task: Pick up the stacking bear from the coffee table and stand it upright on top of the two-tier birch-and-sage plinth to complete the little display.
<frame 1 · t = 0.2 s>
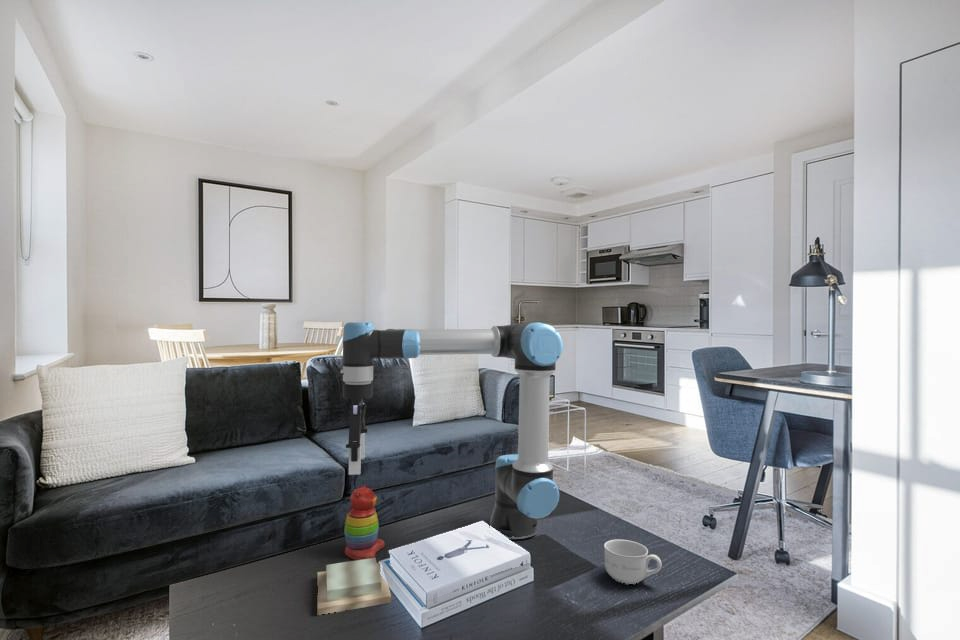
hand: (357, 465, 121), 28 cm above the table, tool pointing down, fingers open, 13 cm apart
plinth: (352, 589, 114), on the table
teacup: (631, 581, 119), on the table
stacking bear: (362, 552, 133), on the table
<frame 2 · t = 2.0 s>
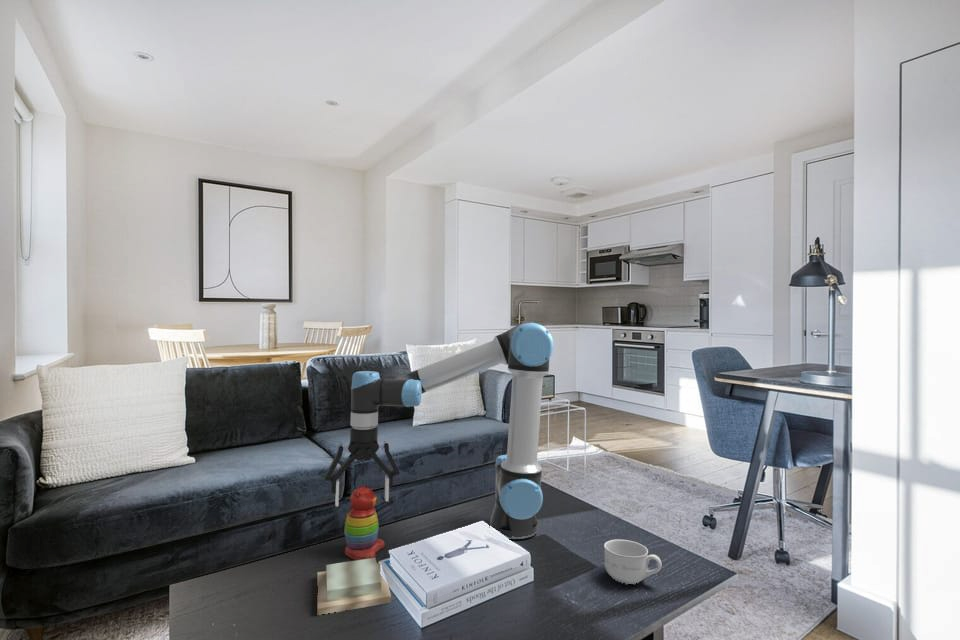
hand: (362, 502, 133), 14 cm above the table, tool pointing down, fingers open, 13 cm apart
nothing on the table moved.
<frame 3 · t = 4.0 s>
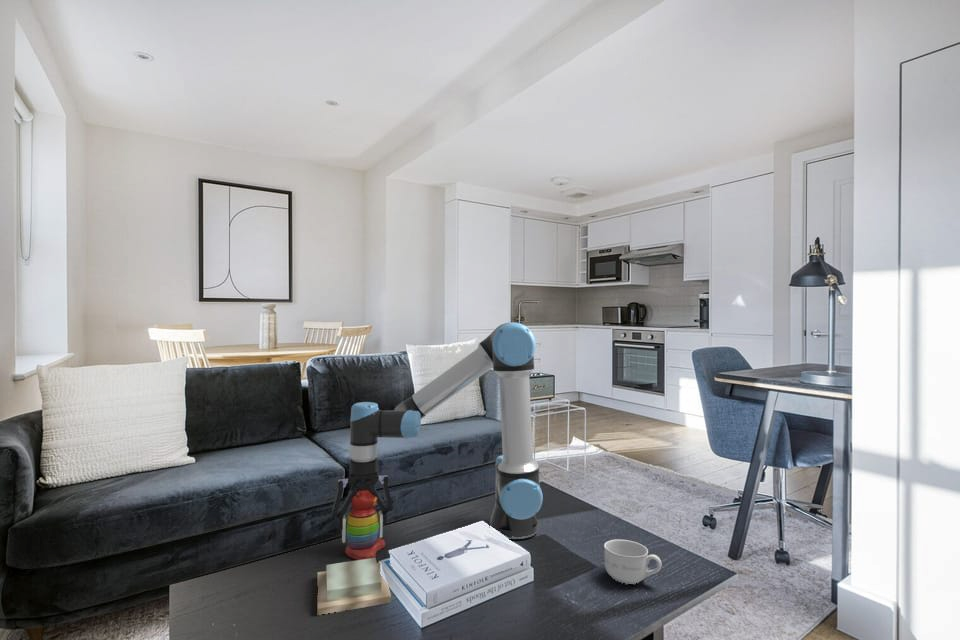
hand: (362, 538, 133), 4 cm above the table, tool pointing down, fingers closed on stacking bear, 9 cm apart
stacking bear: (363, 551, 133), on the table, touching gripper
everything else where it was.
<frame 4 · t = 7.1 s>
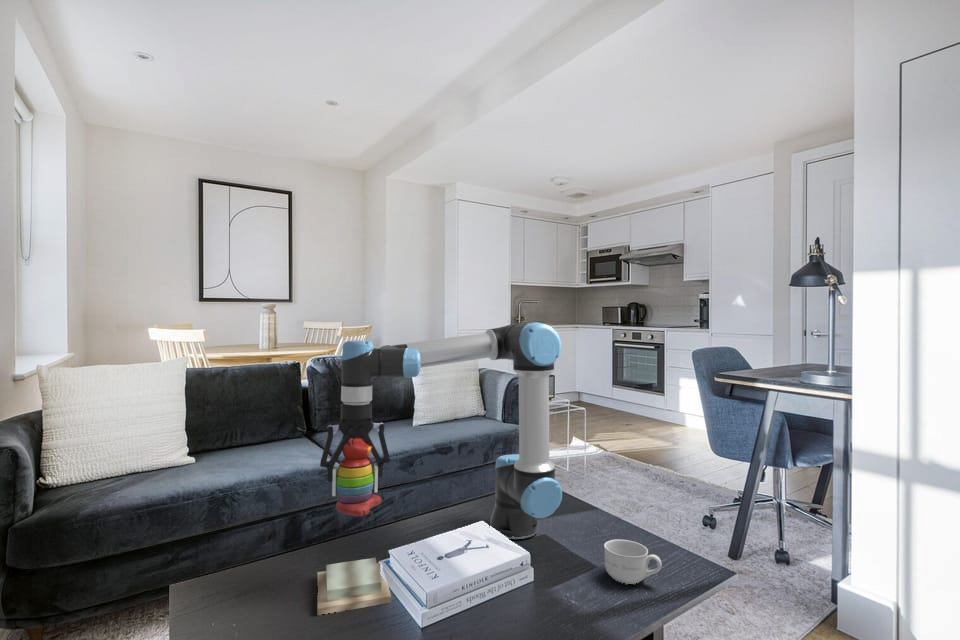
hand: (354, 492, 118), 22 cm above the table, tool pointing down, fingers closed on stacking bear, 9 cm apart
stacking bear: (356, 507, 118), point 18 cm above the table, touching gripper
everything else where it was.
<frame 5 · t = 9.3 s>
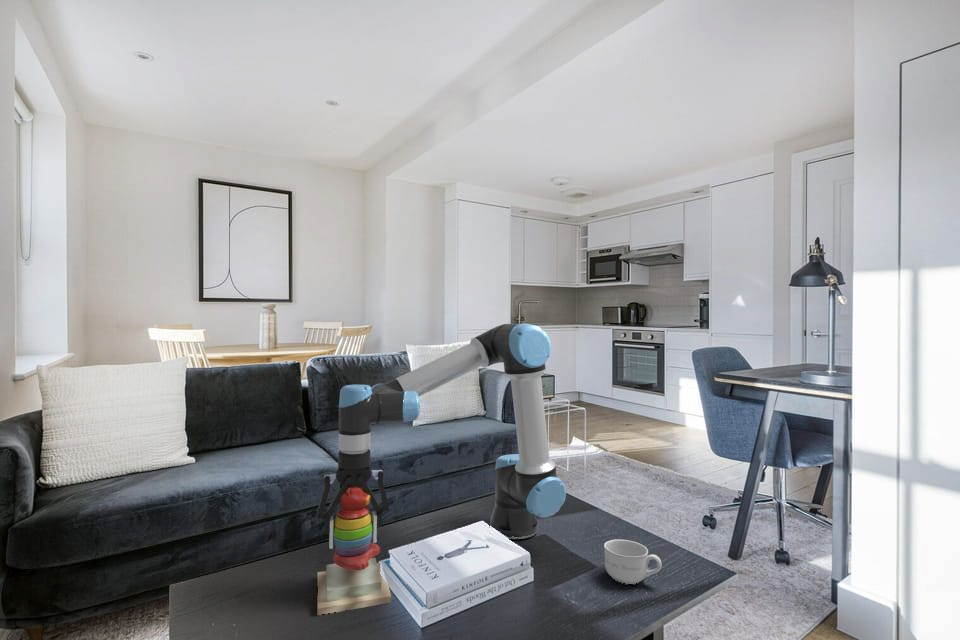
hand: (353, 543, 114), 11 cm above the table, tool pointing down, fingers closed on stacking bear, 9 cm apart
stacking bear: (354, 559, 114), point 7 cm above the table, touching gripper
everything else where it was.
when the fingers open (9 cm above the table, at t = 10.7 s): stacking bear drops 1 cm, resting on plinth.
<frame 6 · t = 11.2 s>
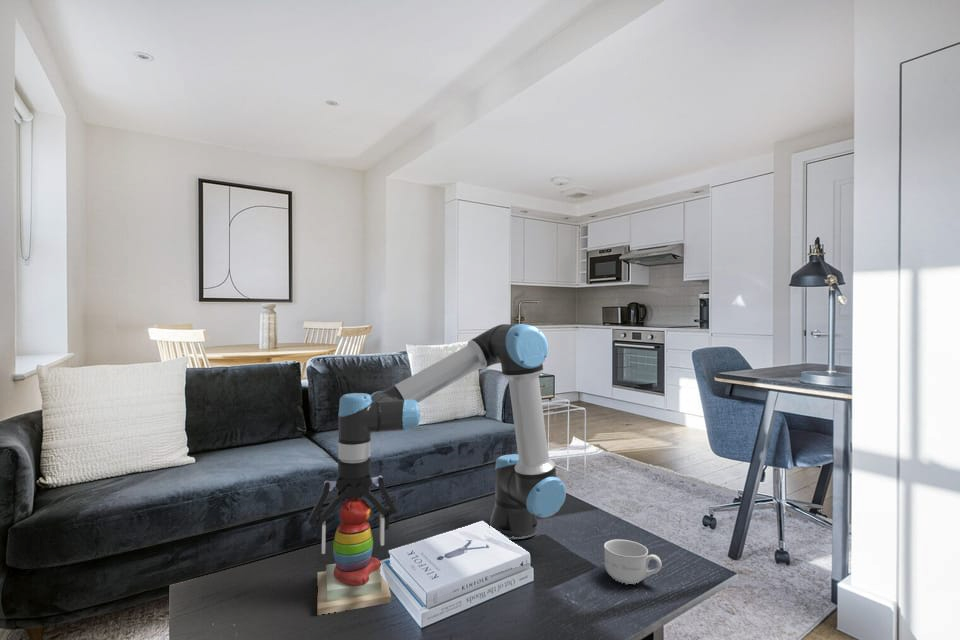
hand: (353, 547, 114), 10 cm above the table, tool pointing down, fingers open, 13 cm apart
stacking bear: (354, 573, 114), point 4 cm above the table, touching plinth
everything else where it was.
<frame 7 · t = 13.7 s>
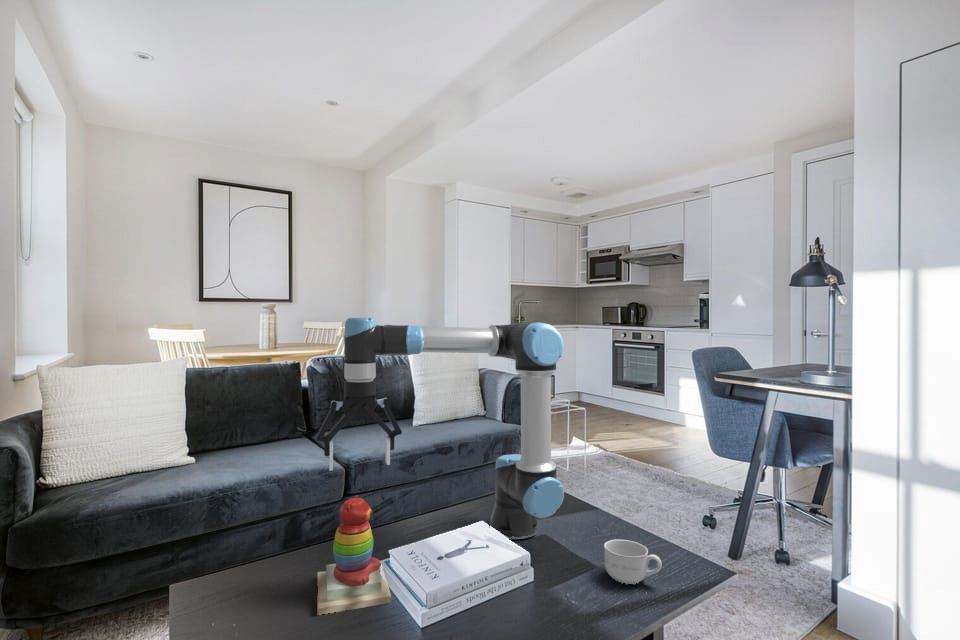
hand: (359, 466, 117), 29 cm above the table, tool pointing down, fingers open, 13 cm apart
nothing on the table moved.
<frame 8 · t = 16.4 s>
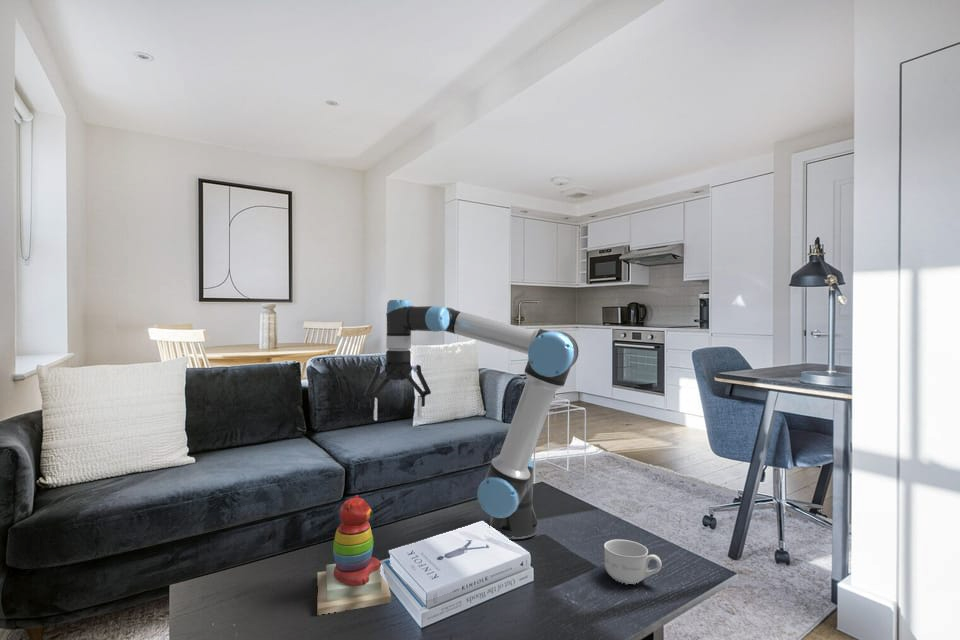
hand: (397, 418, 146), 35 cm above the table, tool pointing down, fingers open, 13 cm apart
nothing on the table moved.
at the end: stacking bear inside the target area on the plinth (0.4 cm from its centre), point 3.8 cm above the plinth's base; stacking bear tilted 0°; the gripper is holding nothing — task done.
